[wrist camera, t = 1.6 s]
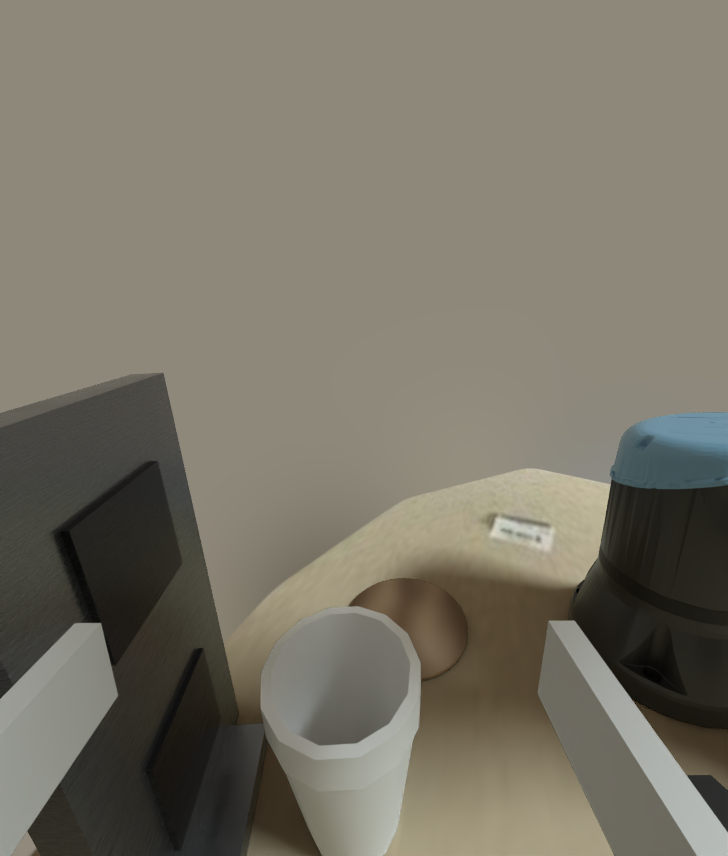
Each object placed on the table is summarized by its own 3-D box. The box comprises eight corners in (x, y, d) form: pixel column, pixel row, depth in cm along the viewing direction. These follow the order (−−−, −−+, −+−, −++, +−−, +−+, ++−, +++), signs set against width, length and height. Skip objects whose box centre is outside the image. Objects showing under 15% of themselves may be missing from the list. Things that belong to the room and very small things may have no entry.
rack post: (273, 710, 32) (211, 369, 23) (221, 993, 19) (23, 451, 10) (215, 715, 32) (130, 374, 23) (122, 1004, 19) (-175, 464, 9)
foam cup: (416, 933, 20) (413, 780, 16) (262, 888, 22) (226, 741, 18) (423, 742, 29) (423, 613, 25) (313, 722, 31) (297, 599, 27)
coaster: (448, 578, 46) (448, 574, 46) (485, 675, 34) (486, 670, 34) (346, 586, 46) (346, 582, 46) (346, 687, 34) (346, 682, 34)
